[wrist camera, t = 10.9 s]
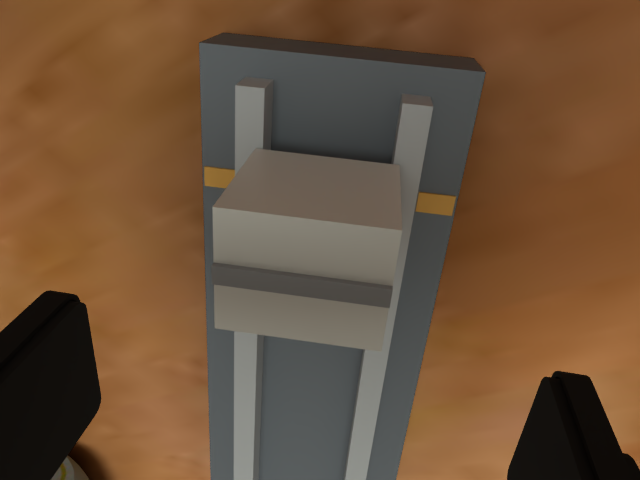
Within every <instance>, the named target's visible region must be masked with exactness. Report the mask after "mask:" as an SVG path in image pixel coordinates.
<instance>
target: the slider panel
mask: <svg viewBox="0 0 640 480" xmlns="http://www.w3.org/2000/svg"><path fill="white" fill-rule="evenodd" d="M199 53H200V90H201V128H202V166H203V204H204V242H205V280H206V318H207V356H208V393H209V431H210V469H211V480H396V477H397V472H398V467H399V463H400V458H401V454H402V449H403V445H404V440H405V436H406V431H407V427H408V422H409V418H410V413H411V409H412V404H413V400H414V395H415V390H416V386H417V381H418V377H419V372H420V368H421V363H422V359H423V354H424V350H425V345H426V341H427V336H428V332H429V327H430V323H431V318H432V314H433V309H434V304H435V300H436V295H437V291H438V286H439V282H440V277H441V273H442V268H443V264H444V259H445V255H446V250H447V246H448V241H449V237H450V232H451V227H452V223H453V218H454V214H455V209H456V205H457V200H458V196H459V191H460V187H461V182H462V178H463V173H464V169H465V164H466V160H467V155H468V150H469V146H470V141H471V137H472V132H473V128H474V123H475V119H476V114H477V110H478V105H479V101H480V96H481V92H482V87H483V83H484V78H485V74H486V72H485V71H484V70H483V68H482V67H481V66H480V65H479V64H478V63H477V61H476V60H475V59H474V58H467V57H457V56H447V55H438V54H428V53H418V52H408V51H398V50H388V49H379V48H369V47H359V46H349V45H339V44H329V43H320V42H310V41H300V40H290V39H280V38H270V37H261V36H251V35H241V34H231V33H221V34H219V35H216V36H214V37H211V38H209V39H207V40H204V41H202V42H199ZM255 148H257V149H265V150H274V151H283V152H291V153H300V154H308V155H317V156H326V157H334V158H343V159H351V160H360V161H369V162H377V163H386V164H394V165H400V186H401V211H402V235H401V241H400V247H399V252H398V258H397V264H396V270H395V276H394V281H393V291H392V297H391V303H390V308H389V311H388V316H387V322H386V328H385V334H384V340H383V345H382V351H381V352H379V351H372V350H365V349H358V348H351V347H344V346H337V345H330V344H322V343H315V342H308V341H301V340H294V339H287V338H280V337H273V336H266V335H258V334H251V333H244V332H237V331H230V330H223V329H216V328H215V322H214V284H212V276H211V266H212V264H213V209H212V207H213V206H214V204H215V203H216V201H217V200H218V199H219V197H220V196H221V195H222V193H223V192H224V190H225V189H226V188H227V186H228V185H229V184H230V182H231V181H232V180H233V178H234V177H235V175H236V174H237V173H238V171H239V170H240V169H241V167H242V166H243V165H244V163H245V162H246V160H247V159H248V158H249V156H250V155H251V154H252V152H253V151H254V150H255Z"/></svg>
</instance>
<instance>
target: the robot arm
mask: <svg viewBox="0 0 640 480" xmlns="http://www.w3.org/2000/svg"><path fill="white" fill-rule="evenodd" d="M100 403H101V392H100V386H99V380H98V374H97V368H96V362H95V356H94V350H93V344H92V338H91V332H90V326H89V320H88V314H87V308H86V305H85V304H84V303H81V302H80V300H79V298H78V296H77V295H74V294H69V293H63V292H56V291H46V292H44V293H43V294H41V295H40V296H39V297H38V298H37V299H36V300H35V301H34V302H33V303H32V304H31V305H29V306H28V307H27V308H26V309H25V310H24V311H23V312H22V313H21V314H20V315H19V316H17V317H16V318H15V319H14V320H13V321H12V322H11V323H10V324H9V325H8V326H7V327H5V328H4V329H3V330H2V331H1V332H0V480H51V479H52V477H53V476H54V474H55V473H56V472H57V470H58V469H59V467H60V466H61V464H62V463H63V461H64V460H65V458H66V457H67V456H68V454H69V453H70V451H71V450H72V448H73V447H74V445H75V444H76V442H77V441H78V440H79V438H80V437H81V435H82V434H83V432H84V431H85V429H86V428H87V426H88V425H89V423H90V422H91V421H92V419H93V418H94V416H95V415H96V413H97V411H98V409H99V406H100ZM507 480H640V470H639V468H638V466H637V464H636V463H635V461H634V459H633V458H632V457H631V456H629V455H628V454H624V453H622V451H621V449H620V446H619V444H618V441H617V439H616V437H615V434H614V432H613V430H612V427H611V425H610V423H609V420H608V418H607V416H606V413H605V411H604V409H603V406H602V404H601V402H600V399H599V397H598V394H597V392H596V390H595V387H594V385H593V383H592V381H591V379H590V377H588V376H587V375H580V374H574V373H568V372H561V371H555V372H554V373H553V375H552V377H544V378H543V379H542V381H541V383H540V386H539V388H538V391H537V394H536V396H535V399H534V402H533V404H532V407H531V410H530V413H529V415H528V418H527V421H526V423H525V426H524V429H523V431H522V434H521V437H520V439H519V442H518V445H517V447H516V450H515V453H514V455H513V458H512V461H511V463H510V466H509V469H508V475H507Z"/></svg>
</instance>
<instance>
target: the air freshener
mask: <svg viewBox="0 0 640 480" xmlns="http://www.w3.org/2000/svg"><path fill="white" fill-rule="evenodd" d="M51 480H89V478H88V477H87V475H86V474H85V473H84V471H83V470H82V469H81V467H80V466H79V465H78V464H77V463H76V462H75V461H74V460H73V459H72V458H70V457H69V456H67V457H66V458H65V460H64V461H63V463H62V464H61V466H60V467H59V469H58V470H57V472H56V473H55V474H54V476H53V477H52V479H51Z"/></svg>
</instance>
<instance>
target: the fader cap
mask: <svg viewBox="0 0 640 480" xmlns="http://www.w3.org/2000/svg"><path fill="white" fill-rule="evenodd" d="M212 209H213V264H212V266H211V276H212V284H214V322H215V328H216V329H223V330H230V331H237V332H244V333H251V334H258V335H266V336H273V337H280V338H287V339H294V340H301V341H308V342H315V343H322V344H330V345H337V346H344V347H351V348H358V349H365V350H372V351H379V352H381V351H382V345H383V340H384V334H385V328H386V322H387V316H388V311H389V308H390V303H391V297H392V291H393V281H394V276H395V270H396V264H397V258H398V252H399V247H400V241H401V235H402V211H401V186H400V165H394V164H386V163H377V162H369V161H360V160H351V159H343V158H334V157H326V156H317V155H308V154H300V153H291V152H283V151H274V150H265V149H257V148H255V150H254V151H253V152H252V154H251V155H250V156H249V158H248V159H247V160H246V162H245V163H244V165H243V166H242V167H241V169H240V170H239V171H238V173H237V174H236V175H235V177H234V178H233V180H232V181H231V182H230V184H229V185H228V186H227V188H226V189H225V190H224V192H223V193H222V195H221V196H220V197H219V199H218V200H217V201H216V203H215V204H214V206H213V207H212Z"/></svg>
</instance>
